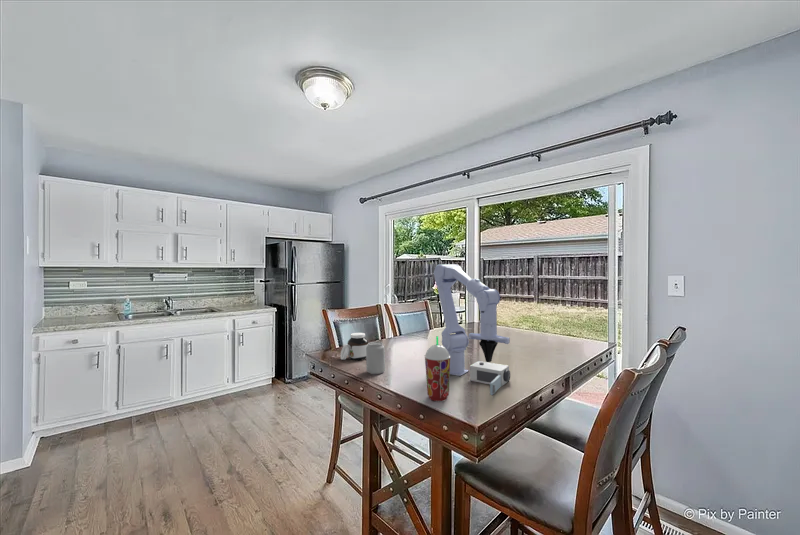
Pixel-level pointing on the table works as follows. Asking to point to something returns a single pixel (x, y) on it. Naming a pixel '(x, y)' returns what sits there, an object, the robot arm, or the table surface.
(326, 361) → the table surface
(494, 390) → the side door
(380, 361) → the can
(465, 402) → the table surface
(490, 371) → the camera body
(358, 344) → the spread jar
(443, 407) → the table surface
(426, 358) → the smoothie
